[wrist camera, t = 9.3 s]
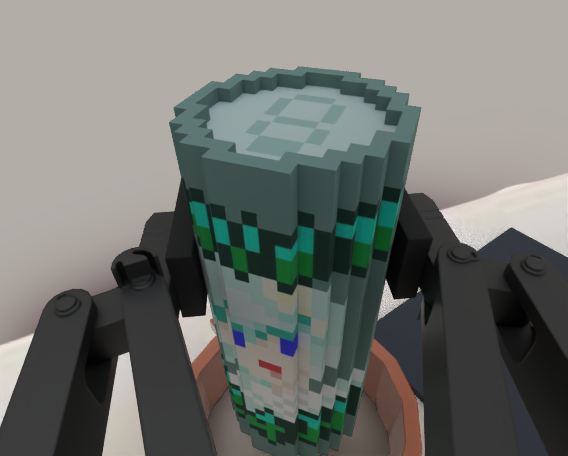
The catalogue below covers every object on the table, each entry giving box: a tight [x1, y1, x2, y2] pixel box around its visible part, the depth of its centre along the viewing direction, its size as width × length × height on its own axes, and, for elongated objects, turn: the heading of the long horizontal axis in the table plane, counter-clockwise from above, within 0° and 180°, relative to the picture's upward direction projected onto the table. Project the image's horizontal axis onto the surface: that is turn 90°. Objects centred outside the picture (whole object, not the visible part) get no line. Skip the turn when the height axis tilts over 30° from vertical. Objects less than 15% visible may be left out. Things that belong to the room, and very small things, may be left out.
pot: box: [191, 319, 422, 456], centre depth 22 cm, size 13×16×4 cm
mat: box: [374, 228, 568, 456], centre depth 28 cm, size 20×16×1 cm
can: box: [169, 67, 421, 456], centre depth 15 cm, size 6×6×15 cm
